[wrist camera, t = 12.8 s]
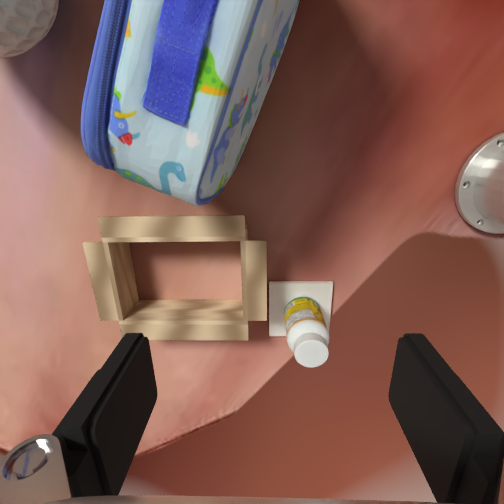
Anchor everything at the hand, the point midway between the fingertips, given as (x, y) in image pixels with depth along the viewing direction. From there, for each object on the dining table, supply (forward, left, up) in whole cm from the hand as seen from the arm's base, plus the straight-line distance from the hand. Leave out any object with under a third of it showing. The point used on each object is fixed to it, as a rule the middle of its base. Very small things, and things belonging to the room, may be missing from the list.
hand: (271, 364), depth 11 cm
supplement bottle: (-5, +16, -30) cm, 34 cm away
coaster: (-5, +16, -30) cm, 35 cm away
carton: (+11, +9, -30) cm, 33 cm away
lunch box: (+4, -16, -31) cm, 35 cm away
